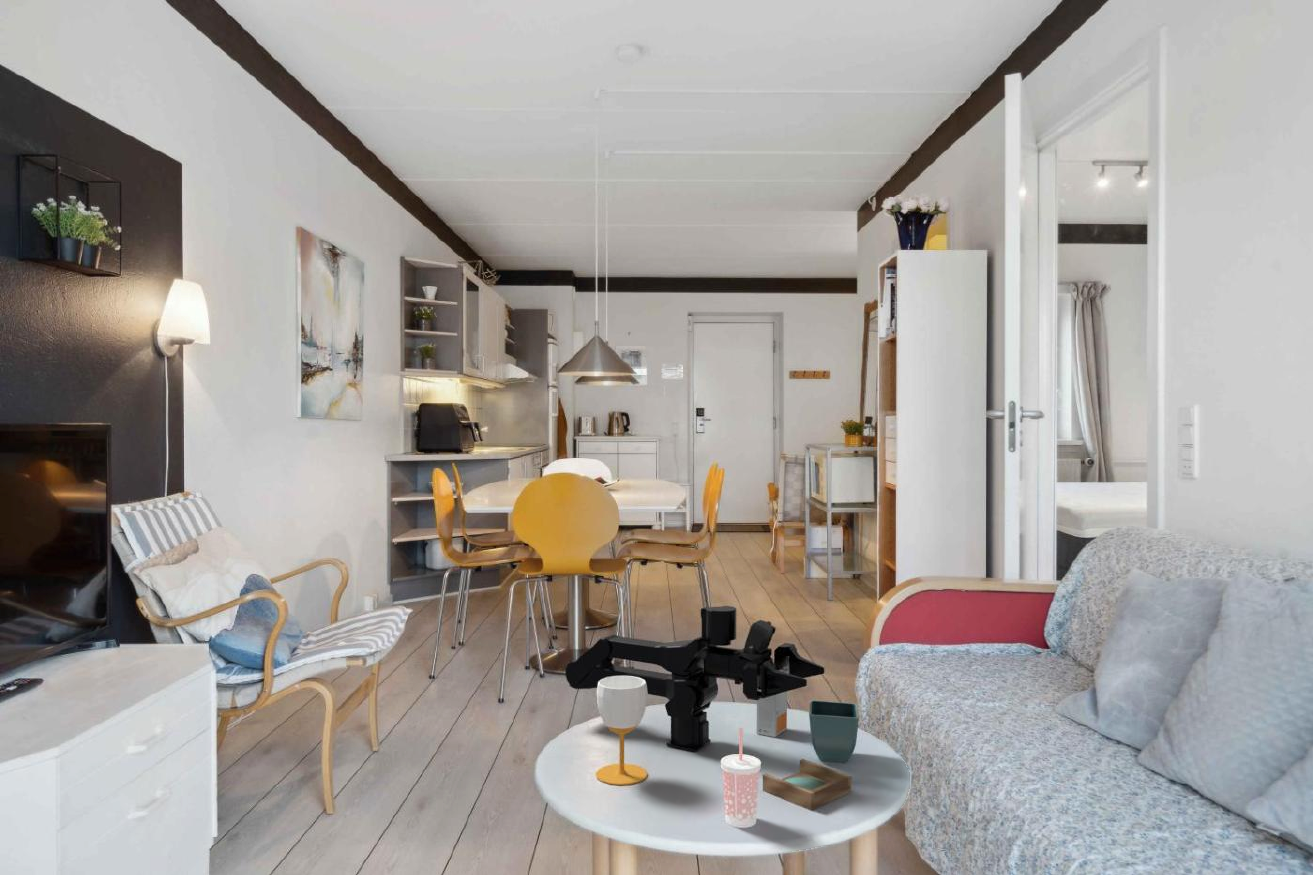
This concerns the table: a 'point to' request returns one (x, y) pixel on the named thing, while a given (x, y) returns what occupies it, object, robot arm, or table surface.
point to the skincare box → (772, 714)
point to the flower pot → (833, 729)
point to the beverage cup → (740, 787)
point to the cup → (622, 722)
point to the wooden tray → (809, 785)
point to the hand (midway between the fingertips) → (815, 676)
